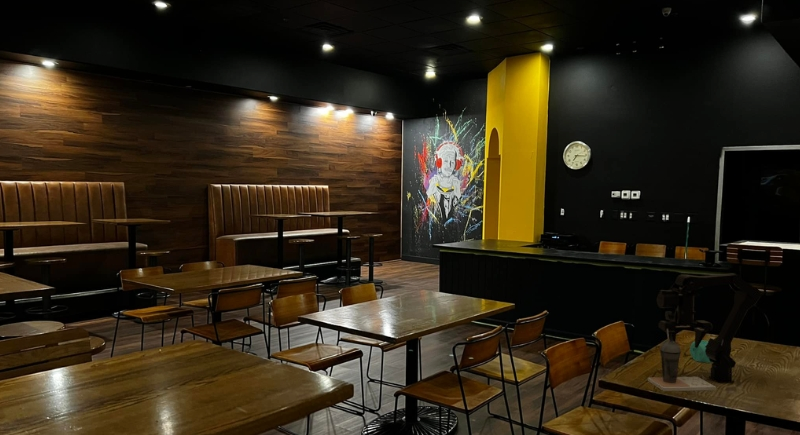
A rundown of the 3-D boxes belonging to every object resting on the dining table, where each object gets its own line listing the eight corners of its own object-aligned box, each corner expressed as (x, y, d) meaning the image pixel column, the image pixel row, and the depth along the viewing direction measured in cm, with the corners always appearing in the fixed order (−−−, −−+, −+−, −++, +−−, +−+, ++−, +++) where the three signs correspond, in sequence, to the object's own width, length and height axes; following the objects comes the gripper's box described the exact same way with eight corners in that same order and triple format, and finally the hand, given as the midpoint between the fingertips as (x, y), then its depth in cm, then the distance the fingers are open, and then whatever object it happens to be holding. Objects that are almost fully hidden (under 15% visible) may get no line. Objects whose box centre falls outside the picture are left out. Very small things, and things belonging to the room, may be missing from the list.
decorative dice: (689, 358, 256) (689, 340, 256) (704, 357, 258) (704, 339, 258) (703, 363, 248) (703, 345, 248) (718, 362, 250) (718, 343, 250)
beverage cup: (682, 384, 215) (683, 331, 215) (661, 383, 217) (662, 330, 216) (677, 378, 223) (678, 327, 222) (657, 377, 224) (658, 326, 223)
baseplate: (697, 379, 226) (697, 374, 226) (716, 390, 214) (716, 384, 214) (647, 380, 225) (647, 375, 225) (663, 391, 213) (663, 385, 213)
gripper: (697, 303, 232) (696, 342, 233) (651, 303, 231) (651, 342, 232) (713, 309, 221) (712, 349, 222) (666, 309, 220) (665, 350, 221)
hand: (684, 347), depth 224 cm, fingers open, 9 cm apart
